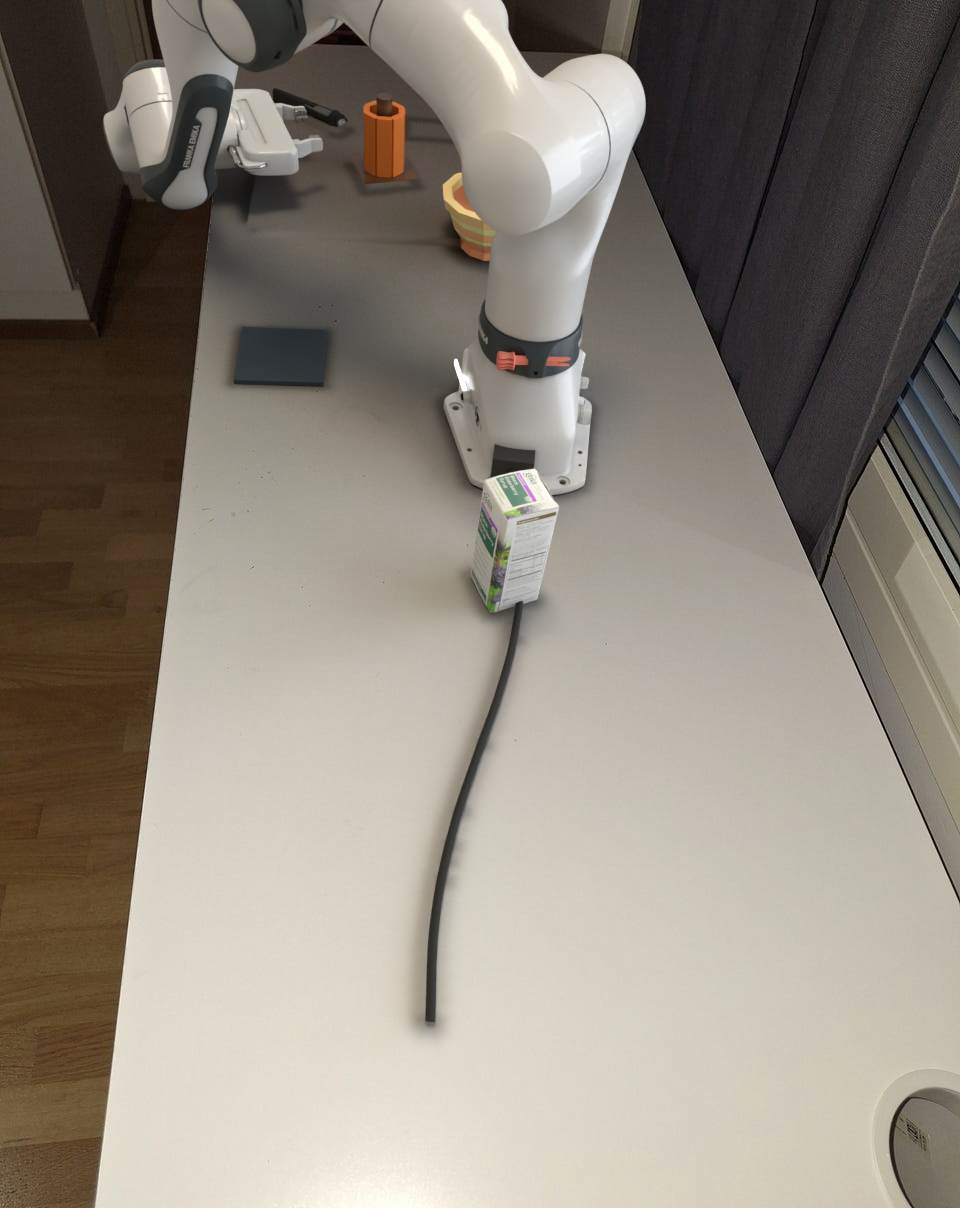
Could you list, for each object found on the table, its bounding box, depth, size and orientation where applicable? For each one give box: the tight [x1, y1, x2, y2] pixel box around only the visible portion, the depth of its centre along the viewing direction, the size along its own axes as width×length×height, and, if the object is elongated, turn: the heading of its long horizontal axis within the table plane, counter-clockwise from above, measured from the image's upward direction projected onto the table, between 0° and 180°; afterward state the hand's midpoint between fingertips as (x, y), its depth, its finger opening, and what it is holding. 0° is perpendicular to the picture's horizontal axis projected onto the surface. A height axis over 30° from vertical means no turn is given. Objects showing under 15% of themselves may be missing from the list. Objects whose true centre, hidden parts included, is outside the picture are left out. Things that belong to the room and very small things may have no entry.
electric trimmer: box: [272, 87, 349, 128], centre depth 156 cm, size 4×16×3 cm, turn 56°
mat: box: [233, 326, 328, 387], centre depth 116 cm, size 11×11×1 cm
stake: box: [349, 92, 420, 185], centre depth 142 cm, size 9×9×12 cm
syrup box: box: [470, 469, 560, 614], centre depth 91 cm, size 6×6×14 cm
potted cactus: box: [442, 171, 496, 262], centre depth 127 cm, size 15×15×25 cm
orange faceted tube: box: [362, 100, 406, 178], centre depth 142 cm, size 6×6×9 cm
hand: (313, 127), depth 137 cm, fingers open, 8 cm apart
